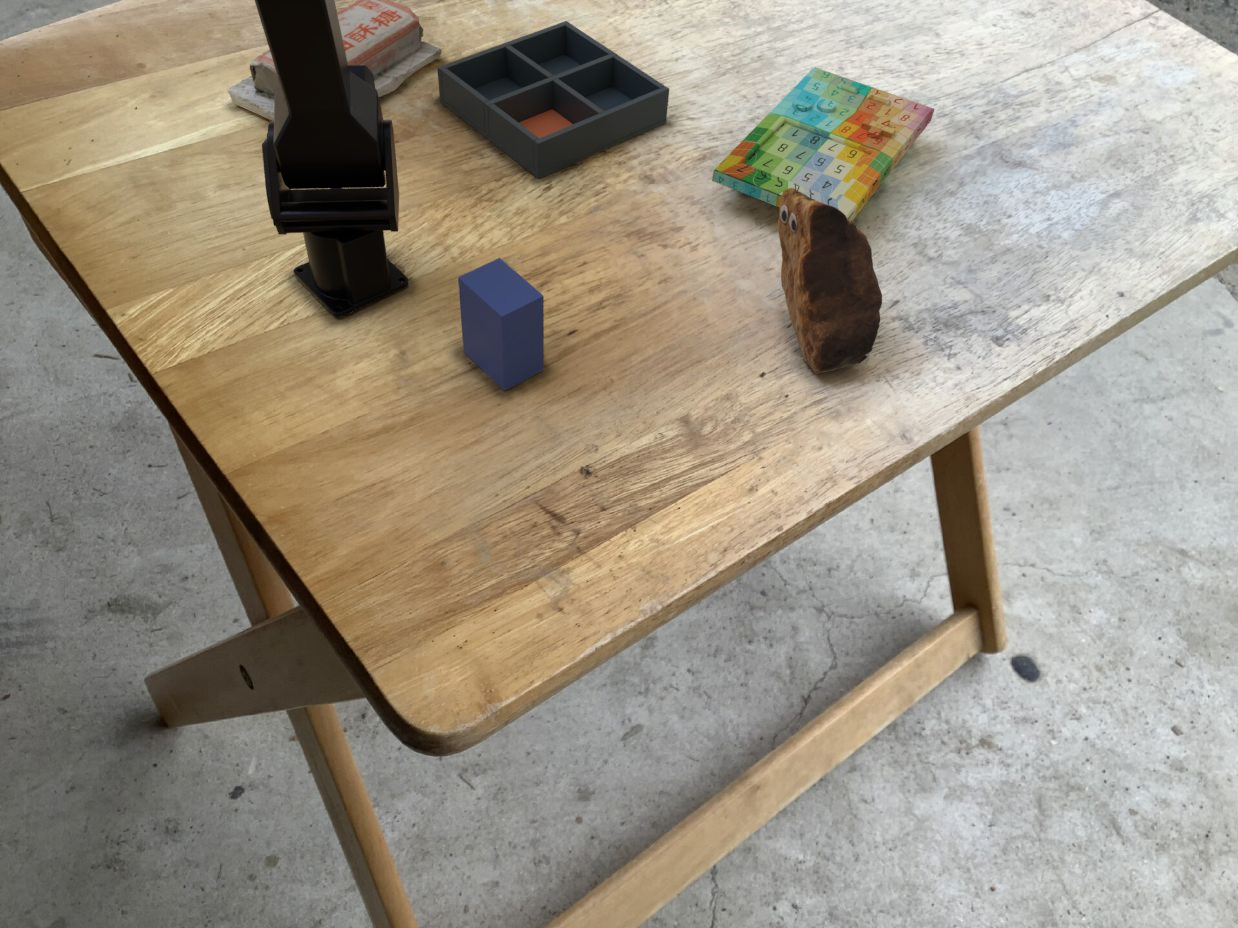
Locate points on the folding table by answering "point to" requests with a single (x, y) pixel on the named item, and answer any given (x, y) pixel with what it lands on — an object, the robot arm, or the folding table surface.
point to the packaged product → (353, 53)
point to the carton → (502, 323)
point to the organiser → (552, 97)
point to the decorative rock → (827, 283)
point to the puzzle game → (825, 143)
